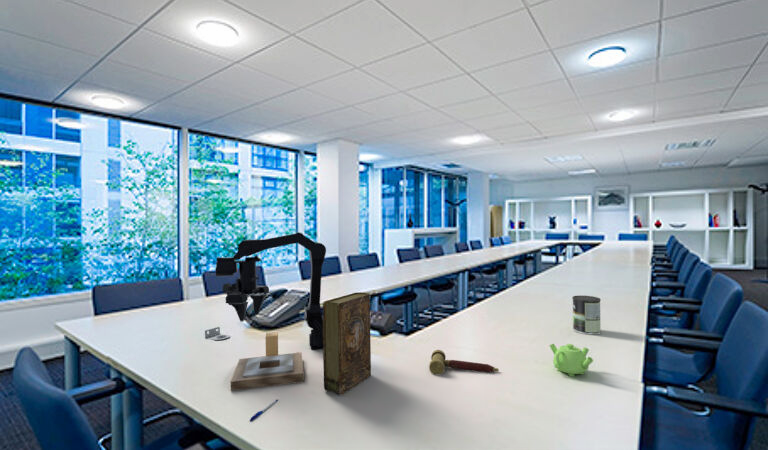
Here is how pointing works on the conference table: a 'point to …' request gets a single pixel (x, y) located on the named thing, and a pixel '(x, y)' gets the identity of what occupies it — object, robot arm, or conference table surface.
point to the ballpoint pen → (262, 410)
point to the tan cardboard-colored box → (271, 344)
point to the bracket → (214, 332)
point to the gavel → (456, 364)
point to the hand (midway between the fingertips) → (249, 317)
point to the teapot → (571, 359)
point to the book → (346, 342)
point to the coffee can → (586, 315)
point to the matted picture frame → (268, 371)
